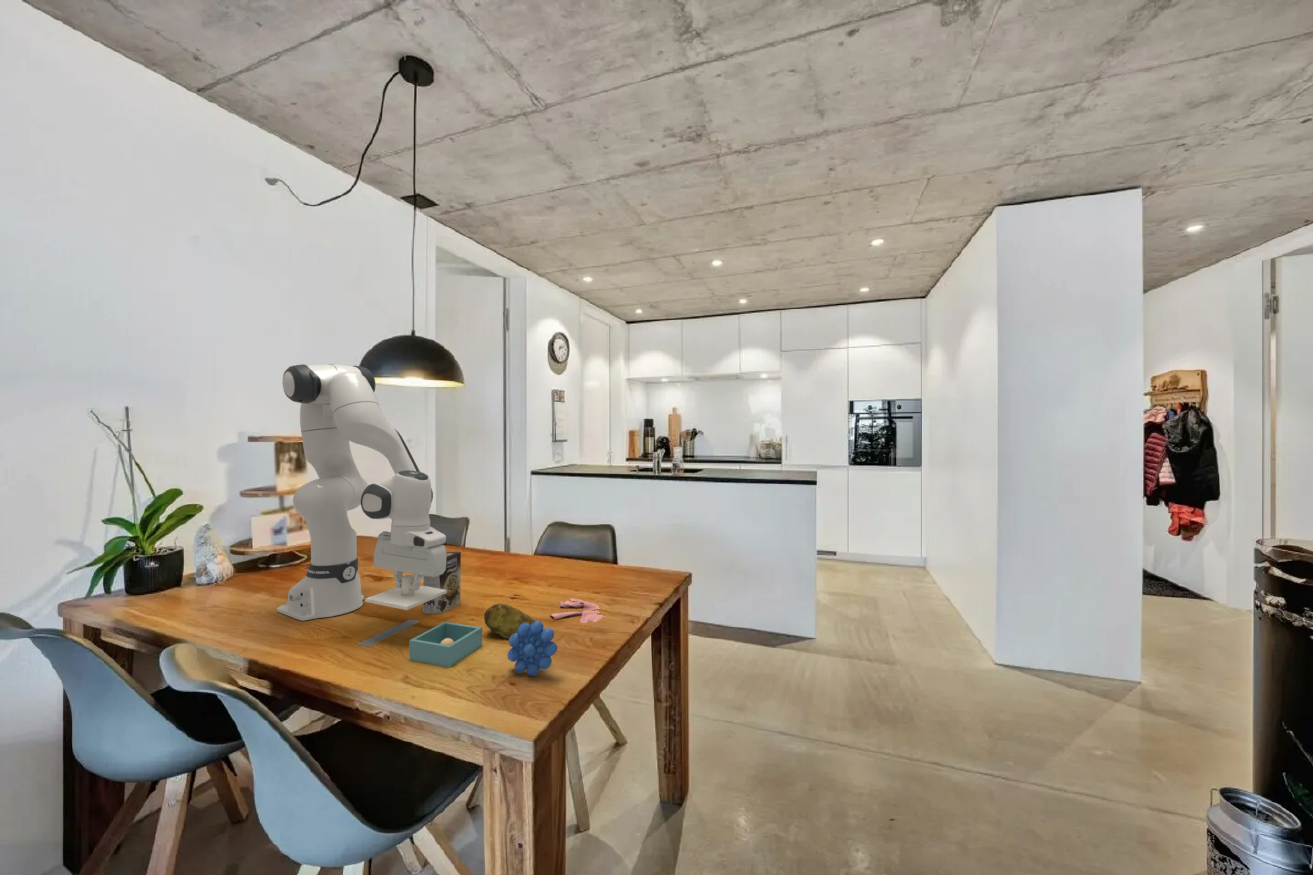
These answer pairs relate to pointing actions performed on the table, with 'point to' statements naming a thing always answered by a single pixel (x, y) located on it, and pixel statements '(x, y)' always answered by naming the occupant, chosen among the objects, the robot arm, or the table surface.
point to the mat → (388, 633)
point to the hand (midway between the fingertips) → (407, 588)
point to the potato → (505, 619)
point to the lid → (406, 595)
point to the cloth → (586, 615)
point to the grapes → (532, 648)
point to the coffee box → (445, 585)
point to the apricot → (447, 641)
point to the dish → (440, 654)
